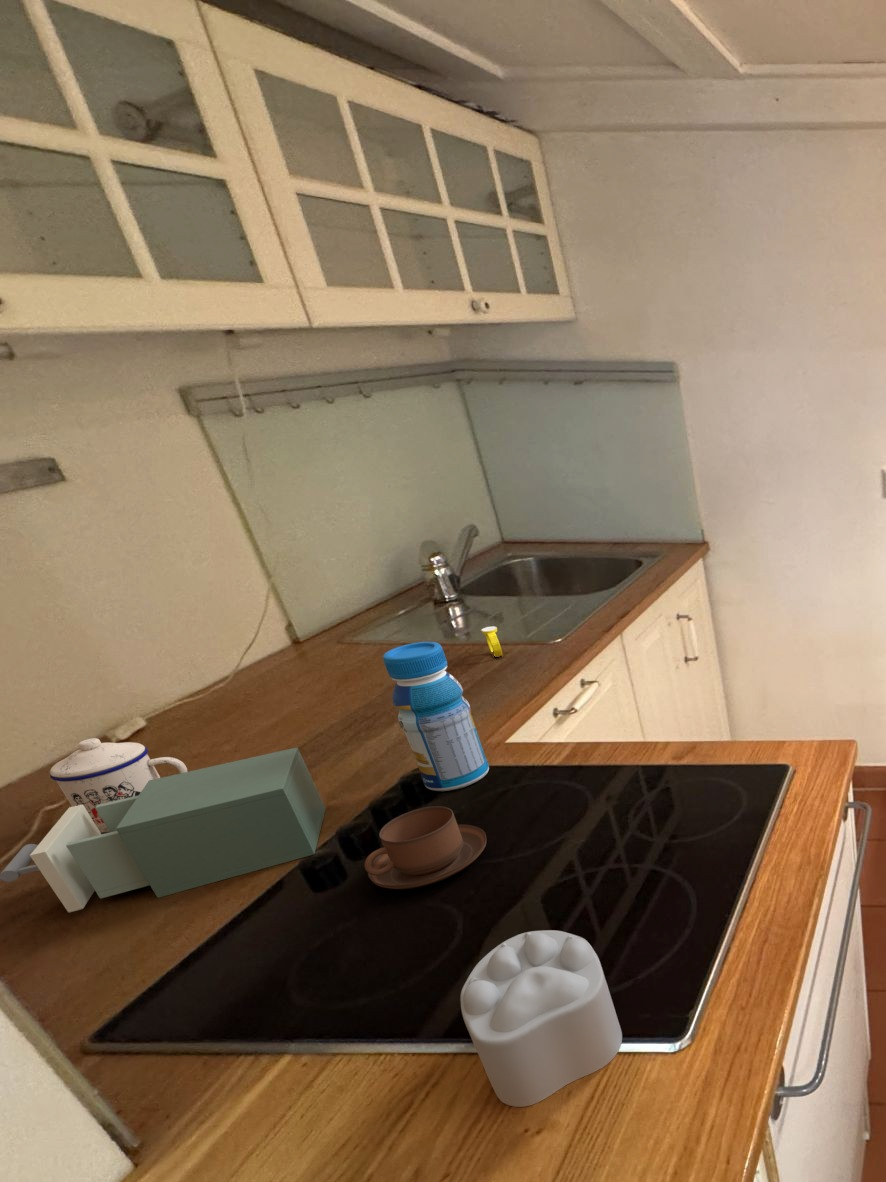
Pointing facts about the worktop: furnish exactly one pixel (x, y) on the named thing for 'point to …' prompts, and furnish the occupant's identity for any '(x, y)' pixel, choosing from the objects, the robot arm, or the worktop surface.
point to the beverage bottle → (435, 717)
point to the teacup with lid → (106, 774)
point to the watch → (492, 640)
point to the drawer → (82, 857)
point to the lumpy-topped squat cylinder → (540, 1015)
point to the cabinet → (223, 821)
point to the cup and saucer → (423, 849)
